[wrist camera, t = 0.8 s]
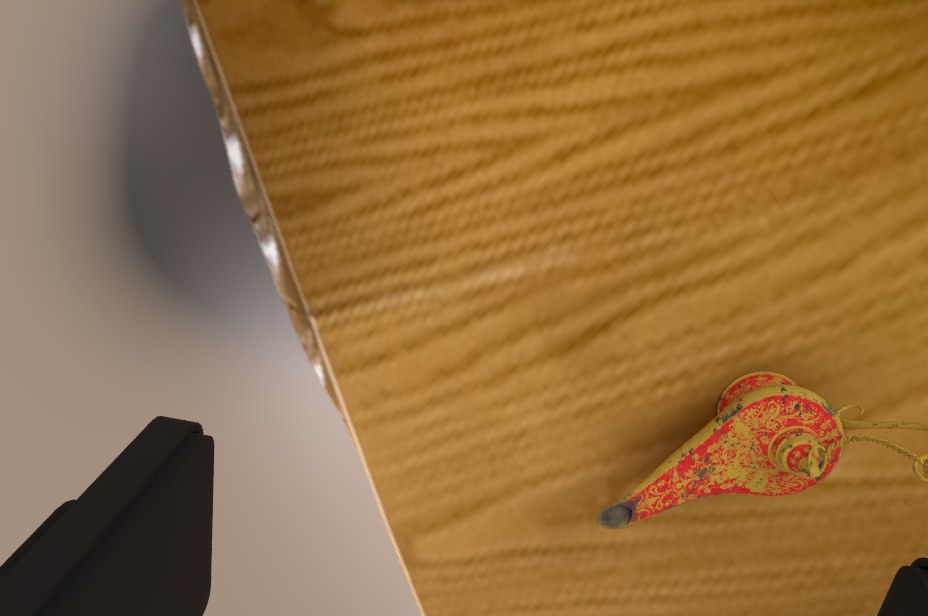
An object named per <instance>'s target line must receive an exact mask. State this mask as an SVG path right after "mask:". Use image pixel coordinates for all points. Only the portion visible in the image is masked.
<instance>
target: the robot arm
mask: <svg viewBox="0 0 928 616" xmlns="http://www.w3.org/2000/svg"><path fill="white" fill-rule="evenodd" d="M213 475H214V440H213V438H212V437H211V436H208V435H203V429H202V426H201V425H200V424H199V423H196V422H191V421H186V420H180V419H175V418H169V417H164V416H158V417H156V418H155V419H153V420H152V421H151V422H150V423H149V424H148V425H147V426H146V427H145V429H144V430H143V431H142V432H141V433H140V434H139V435H138V436H137V437H136V438H135V439H134V440H133V441H132V442H131V443H130V444H129V445H128V446H127V447H126V449H125V450H124V451H123V452H122V453H121V454H120V455H119V456H118V457H117V458H116V459H115V460H114V461H113V462H112V463H111V464H110V465H109V466H108V467H107V468H106V470H105V471H104V472H103V473H102V474H101V475H100V476H99V477H98V478H97V479H96V480H95V481H94V482H93V483H92V484H91V485H90V486H89V487H88V488H87V490H86V491H85V492H84V493H83V494H82V495H81V496H80V497H79V498H78V499H77V500H70V501H67V502H65V503H64V504H62V505H61V506H60V507H59V508H57V509H56V510H55V511H54V512H53V513H52V514H51V515H50V516H49V517H48V518H47V519H46V520H45V522H43V524H42V525H41V526H40V527H39V528H38V529H37V530H36V531H35V532H34V533H33V534H32V535H31V536H30V537H29V538H28V539H27V540H26V541H25V542H24V543H23V544H22V545H21V546H20V547H19V548H18V549H17V550H16V551H15V552H14V553H13V554H12V555H11V556H10V557H9V558H8V559H7V560H6V562H5V563H4V564H3V565H2V566H1V567H0V616H202V615H203V613H204V611H205V609H206V606H207V603H208V600H209V595H210V589H211V559H212V558H211V556H212V518H213V517H212V516H213ZM877 616H928V558H918V559H917V560H915V561H914V562H913V563H912V564H911V566H903V567H901V568H900V569H899V570H898V572H897V574H896V576H895V578H894V580H893V582H892V584H891V587H890V589H889V591H888V593H887V595H886V598H885V600H884V602H883V604H882V606H881V609H880V611H879V613H878V615H877Z"/></svg>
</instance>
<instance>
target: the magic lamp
mask: <svg viewBox="0 0 928 616" xmlns="http://www.w3.org/2000/svg"><path fill="white" fill-rule="evenodd" d="M853 407H857V408H860V409H861V413H863V411H864V410H863V408H862V407H861V406H859V405H848V406H844V407H842V408H840V409H839V410H837V411H835V410H834V409H833V407H832V406H831V405H830V404H829V403H828V402H827V401H826V400H825V399H823V398H822V397H821V396H820V395H818V394H816V393H814V392H812V391H811V390H808V389H805V388H802V387H799V386H797V385H796V384H795V383H794V382H793V381H792V380H791V379H789V378H787V377H786V376H784V375H781V374H778V373H775V372H768V371H761V372H753V373H749V374H746V375H744V376H741V377H739V378H738V379H736V380H735V381H733V382H732V383H731V384H730V385H729V386H728V387H727V388H726V389H725V390H724V392H723V393H722V395H721V397H720V399H719V402H718V406H717V416H716V417H715V418H714V419H713V420H712V421H711V422H710V423H708V424H707V425H706V426H705V427H704V428H702V429H701V430H700V431H699V432H698V433H696V434H695V435H694V436H693V437H692V438H690V439H689V440H688V441H687V442H686V443H684V444H683V445H682V446H681V447H680V448H678V449H677V450H676V451H675V452H674V453H673V454H672V455H670V456H669V457H668V458H667V459H666V460H665V461H664V462H663V463H662V464H660V465H659V466H658V467H657V468H656V469H655V470H654V471H653V472H652V473H651V474H650V475H649V476H648V477H647V478H646V479H645V480H643V481H642V482H641V483H640V484H639V485H638V486H637V487H635V488H634V489H633V490H632V491H631V492H629V493H628V494H627V495H626V496H624V497H623V498H621V499H620V500H619V501H617V502H615V503H614V504H612V505H610V506H609V507H607V508H605V509H604V510H602V511H601V512H600V514H599V515H598V518H597V522H598V524H600V525H601V526H602V527H604V528H607V529H621V528H624V527H627V526H629V525H632V524H634V523H637V522H639V521H641V520H644V519H646V518H649V517H651V516H653V515H655V514H658V513H660V512H662V511H664V510H666V509H669V508H671V507H673V506H675V505H678V504H680V503H683V502H686V501H688V500H692V499H696V498H700V497H705V496H712V495H722V494H745V495H756V496H770V497H772V496H786V495H791V494H796V493H799V492H801V491H804V490H807V489H809V488H811V487H812V486H814V485H816V484H818V483H819V482H820V481H822V480H823V479H824V478H825V477H826V476H827V475H828V474H829V473H830V472H831V471H832V470H833V469H834V467H835V466H836V464H837V462H838V461H839V459H840V456H841V454H842V451H843V445H844V444H845V443H849V441H852V442H854V440H857V441H859V440H862V441H864V440H867V441H870V440H871V441H872V442H875V441H876V442H877V444H878V443H882V445H887V447H892V450H895V449H897V450H898V451H897V452H898V453H899V452H903V455H904V456H909V459H915V461H914V463H913V470H914V472H915V474H916V475H917V476H918V477H919V478H920V479H921V480H922V481H924V482H926V483H928V456H921V457H920V456H918V455H915V454H914V453H913V452H911V451H909V450H907V449H906V448H903V447H902V446H899V445H897V444H895V443H892V442H890V441H886V440H884V439H880V438H876V437H871V436H866V435H858V436H857V435H854V436H849V437H845V438H844V431H843V429H879V428H900V429H918V430H926V431H928V425H927V424H920V423H904V422H863V421H851V420H846V419H843V418H841V417H840V416H839V415H840V413H841V412H842V411H843V410H845V409H848V408H853ZM924 459H926V461H925V463H924V462H923V460H924ZM919 462H920V463H921V464H922V465H923V471H924V473H925V475H926V477H927V478H924V477H923V476H922V475H921V474H920V473H919V471H918V470H917V465H918V463H919Z"/></svg>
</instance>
